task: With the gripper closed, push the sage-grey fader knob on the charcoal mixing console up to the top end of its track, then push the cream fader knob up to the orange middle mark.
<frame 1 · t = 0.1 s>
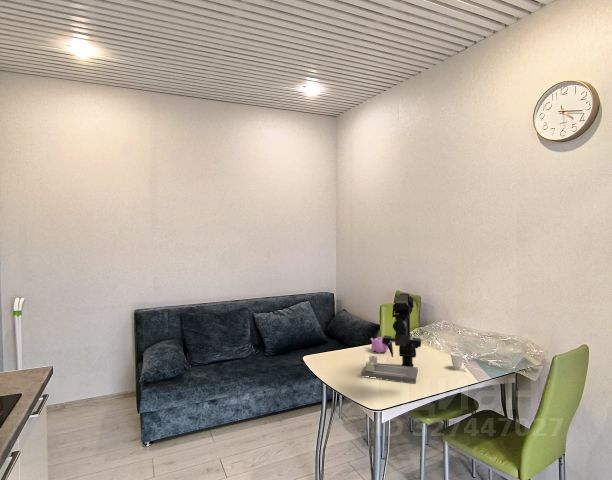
hand: (401, 357, 185), 15 cm above the table, tool pointing down, fingers open, 9 cm apart
cream fader: (373, 360, 209), point 5 cm above the table, slide at 0.0 cm
sage fader: (369, 366, 200), point 5 cm above the table, slide at 0.0 cm
cup: (459, 369, 207), on the table
teapot: (378, 351, 240), on the table
console: (390, 374, 201), on the table
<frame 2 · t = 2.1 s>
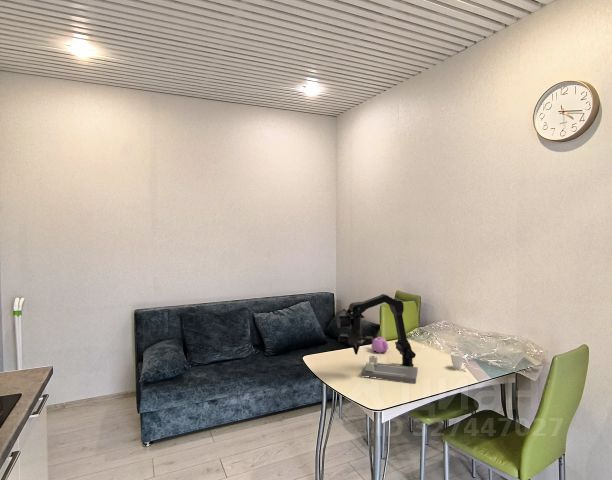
hand: (356, 354, 202), 11 cm above the table, tool pointing down, fingers closed
nothing on the table moved.
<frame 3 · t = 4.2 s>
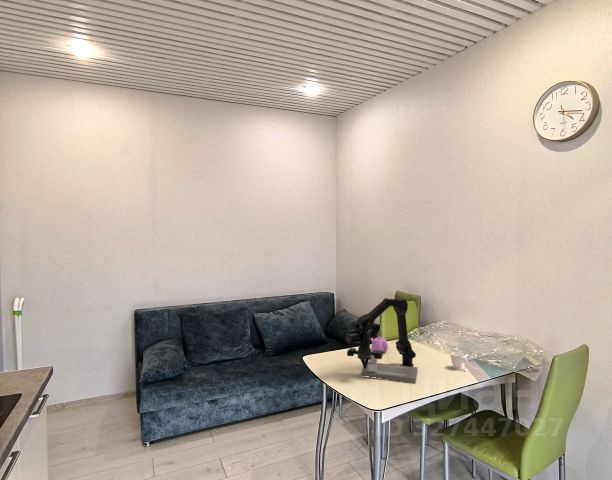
hand: (365, 368, 201), 3 cm above the table, tool pointing down, fingers closed
sage fader: (372, 366, 199), point 5 cm above the table, slide at 1.4 cm, touching gripper
everything else where it was.
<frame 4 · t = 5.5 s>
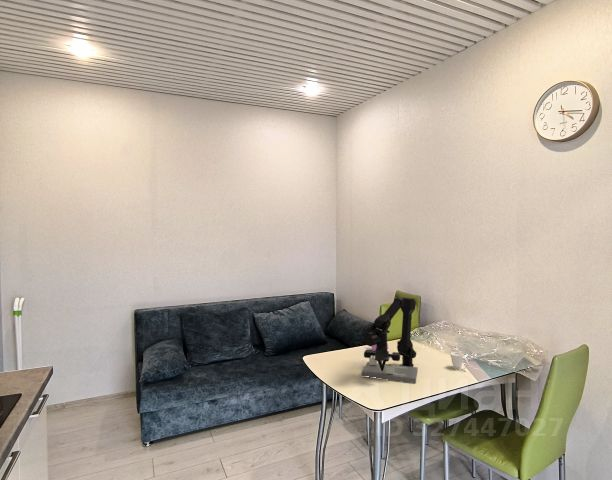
hand: (382, 370, 198), 3 cm above the table, tool pointing down, fingers closed
sage fader: (389, 368, 196), point 5 cm above the table, slide at 10.7 cm, touching gripper
everything else where it was.
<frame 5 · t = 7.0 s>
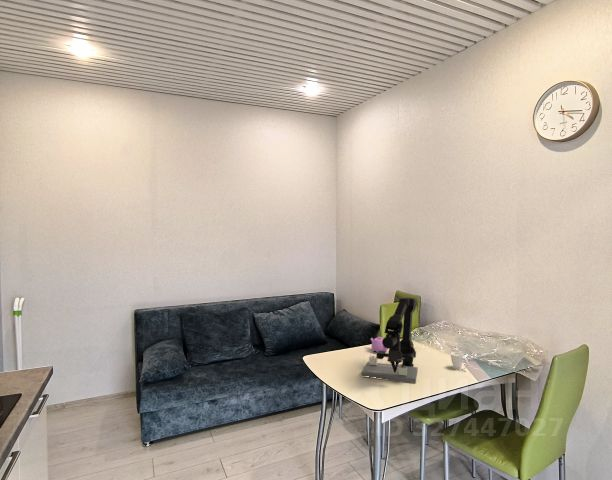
hand: (395, 372, 195), 3 cm above the table, tool pointing down, fingers closed
sage fader: (402, 370, 194), point 5 cm above the table, slide at 17.4 cm, touching gripper
everything else where it was.
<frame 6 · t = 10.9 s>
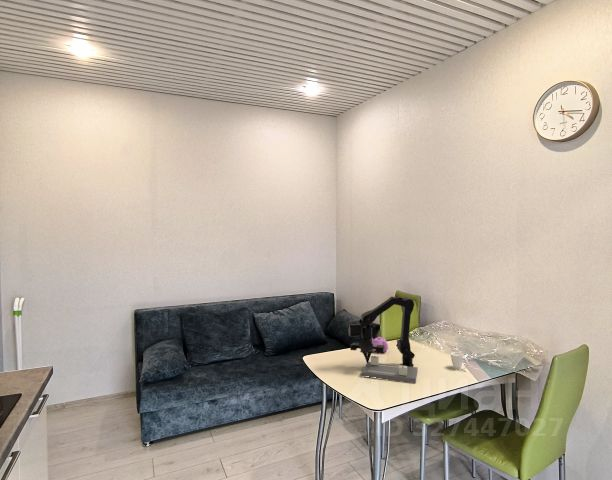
hand: (367, 362, 210), 3 cm above the table, tool pointing down, fingers closed
cream fader: (374, 360, 209), point 5 cm above the table, slide at 0.8 cm, touching gripper
sage fader: (403, 370, 194), point 5 cm above the table, slide at 17.5 cm
everything else where it was.
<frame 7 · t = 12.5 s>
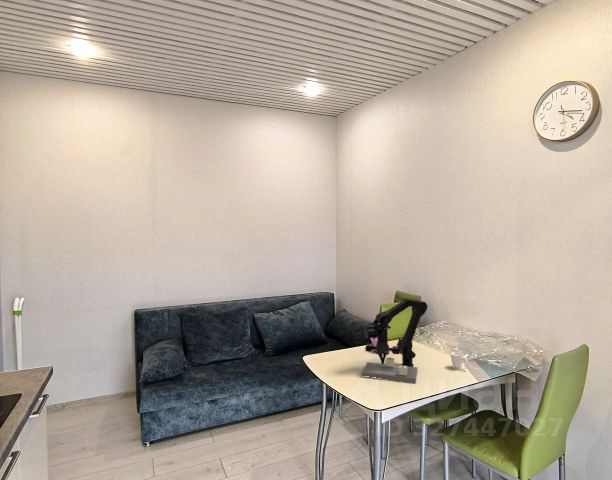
hand: (382, 363, 207), 3 cm above the table, tool pointing down, fingers closed
cream fader: (390, 362, 206), point 5 cm above the table, slide at 9.5 cm, touching gripper
everything else where it was.
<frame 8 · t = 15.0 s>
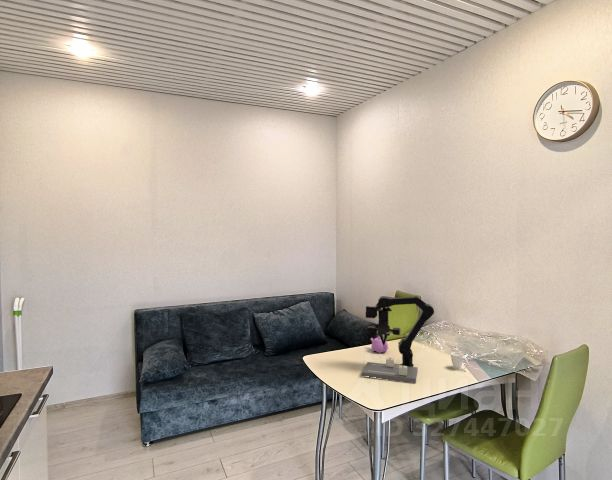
hand: (383, 344, 214), 12 cm above the table, tool pointing down, fingers closed
cream fader: (390, 362, 206), point 5 cm above the table, slide at 9.5 cm
everything else where it was.
at the end: sage fader slide at 17.5 cm; cream fader slide at 9.5 cm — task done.
